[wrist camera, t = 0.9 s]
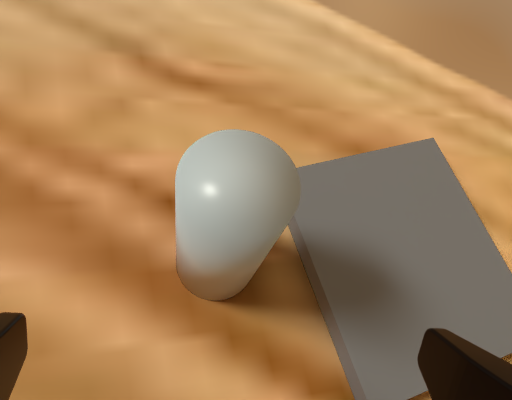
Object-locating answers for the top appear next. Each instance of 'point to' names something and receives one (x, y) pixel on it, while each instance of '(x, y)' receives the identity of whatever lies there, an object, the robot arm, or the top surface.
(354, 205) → the shelf board
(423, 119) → the top surface
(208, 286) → the white dome-topped cylinder
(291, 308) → the top surface
